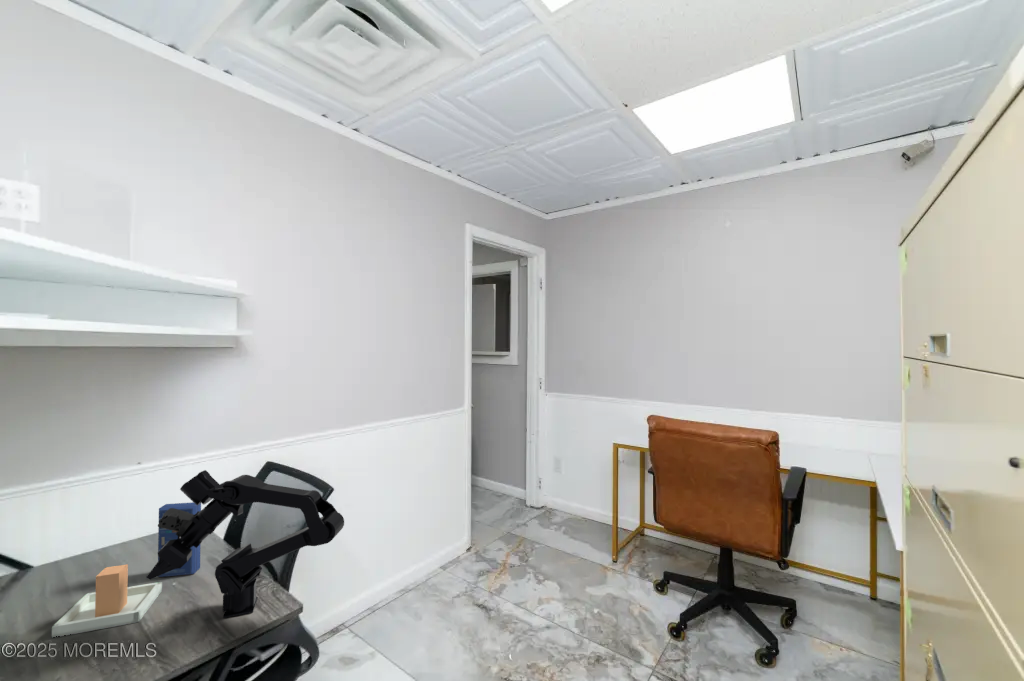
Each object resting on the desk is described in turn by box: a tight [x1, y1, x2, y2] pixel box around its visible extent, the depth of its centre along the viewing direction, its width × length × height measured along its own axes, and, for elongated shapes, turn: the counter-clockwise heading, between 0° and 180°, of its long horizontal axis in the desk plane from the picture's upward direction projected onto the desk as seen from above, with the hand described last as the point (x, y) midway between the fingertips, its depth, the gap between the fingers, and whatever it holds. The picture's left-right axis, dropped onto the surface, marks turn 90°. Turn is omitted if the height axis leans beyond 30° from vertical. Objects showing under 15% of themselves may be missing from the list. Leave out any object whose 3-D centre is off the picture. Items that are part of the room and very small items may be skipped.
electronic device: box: [157, 501, 202, 578], centre depth 126 cm, size 10×5×20 cm, turn 102°
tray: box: [51, 581, 163, 639], centre depth 107 cm, size 16×14×2 cm
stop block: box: [95, 564, 129, 617], centre depth 107 cm, size 4×4×10 cm
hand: (156, 568), depth 104 cm, fingers open, 9 cm apart
